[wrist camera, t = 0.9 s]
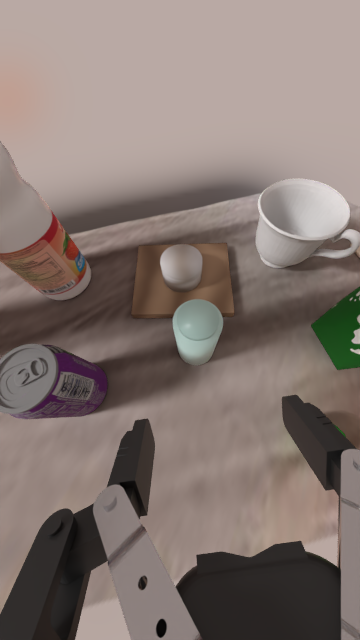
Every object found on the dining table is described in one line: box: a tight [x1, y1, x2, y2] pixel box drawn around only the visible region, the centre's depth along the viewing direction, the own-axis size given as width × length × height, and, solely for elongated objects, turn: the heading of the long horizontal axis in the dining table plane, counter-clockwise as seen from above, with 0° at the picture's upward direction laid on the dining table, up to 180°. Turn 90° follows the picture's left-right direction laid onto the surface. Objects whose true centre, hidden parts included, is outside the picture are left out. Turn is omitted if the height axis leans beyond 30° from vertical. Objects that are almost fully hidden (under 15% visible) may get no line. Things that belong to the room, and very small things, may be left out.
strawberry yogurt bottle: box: [0, 141, 91, 300], centre depth 25 cm, size 9×9×28 cm
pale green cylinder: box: [173, 299, 223, 365], centre depth 26 cm, size 5×5×11 cm
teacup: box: [256, 179, 360, 268], centre depth 32 cm, size 12×15×10 cm
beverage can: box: [0, 344, 107, 419], centre depth 24 cm, size 7×7×12 cm
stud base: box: [131, 243, 234, 318], centre depth 34 cm, size 16×14×6 cm
